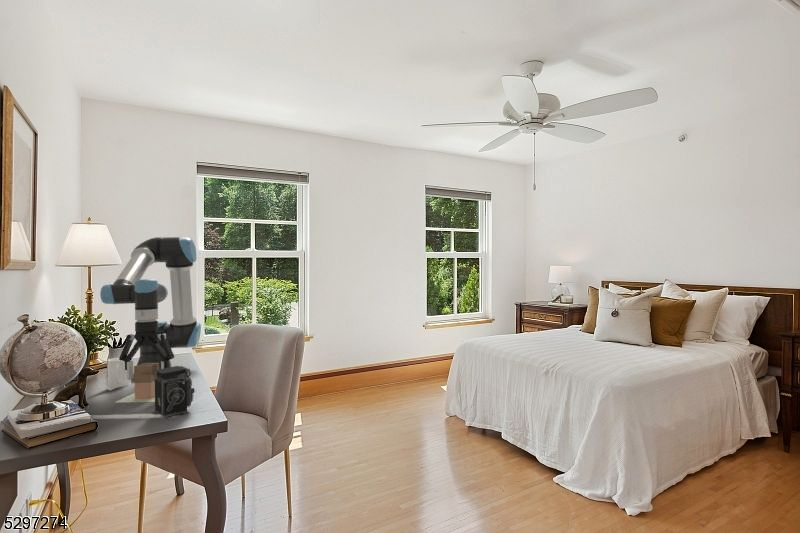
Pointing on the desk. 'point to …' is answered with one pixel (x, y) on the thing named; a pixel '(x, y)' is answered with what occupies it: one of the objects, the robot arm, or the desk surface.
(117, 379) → the white rectangular block
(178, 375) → the camera
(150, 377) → the walnut brick
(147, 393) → the terracotta brick
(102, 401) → the desk surface
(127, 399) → the build board
